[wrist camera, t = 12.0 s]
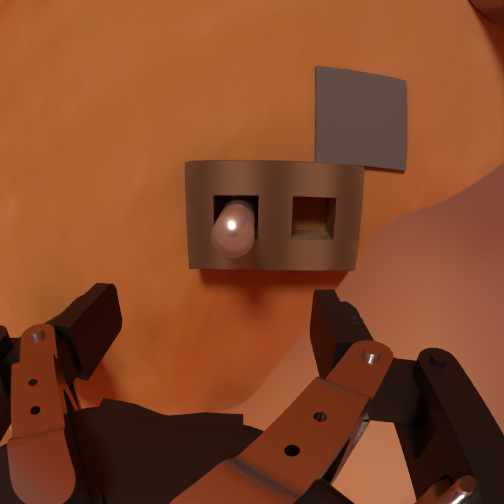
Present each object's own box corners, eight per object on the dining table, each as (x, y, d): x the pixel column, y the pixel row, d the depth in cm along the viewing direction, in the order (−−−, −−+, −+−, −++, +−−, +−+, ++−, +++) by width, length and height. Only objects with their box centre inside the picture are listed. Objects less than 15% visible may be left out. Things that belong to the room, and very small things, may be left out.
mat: (404, 81, 25) (406, 80, 25) (403, 170, 29) (405, 170, 28) (315, 66, 25) (315, 66, 25) (314, 162, 29) (315, 162, 28)
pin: (255, 195, 30) (254, 216, 20) (254, 224, 31) (254, 258, 21) (224, 195, 30) (210, 216, 20) (224, 224, 31) (211, 257, 21)
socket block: (352, 164, 29) (364, 166, 25) (345, 258, 32) (354, 270, 29) (192, 160, 29) (184, 162, 26) (196, 256, 32) (189, 268, 29)
